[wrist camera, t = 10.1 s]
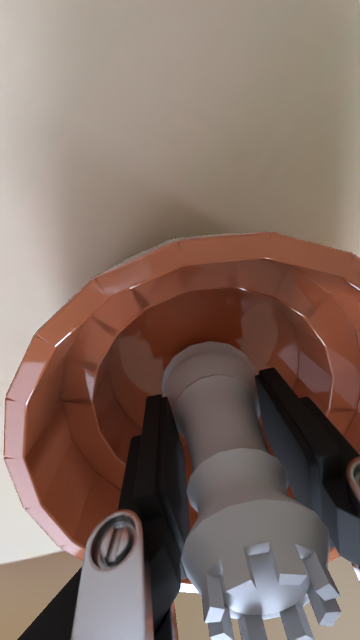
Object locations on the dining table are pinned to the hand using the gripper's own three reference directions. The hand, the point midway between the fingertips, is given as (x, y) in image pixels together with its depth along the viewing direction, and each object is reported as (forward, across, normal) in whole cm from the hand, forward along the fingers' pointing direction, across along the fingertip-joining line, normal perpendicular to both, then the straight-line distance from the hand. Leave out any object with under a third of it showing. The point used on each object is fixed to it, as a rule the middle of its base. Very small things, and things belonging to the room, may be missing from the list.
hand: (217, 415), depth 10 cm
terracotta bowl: (+4, 0, 0) cm, 4 cm away
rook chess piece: (+3, 0, 0) cm, 3 cm away
